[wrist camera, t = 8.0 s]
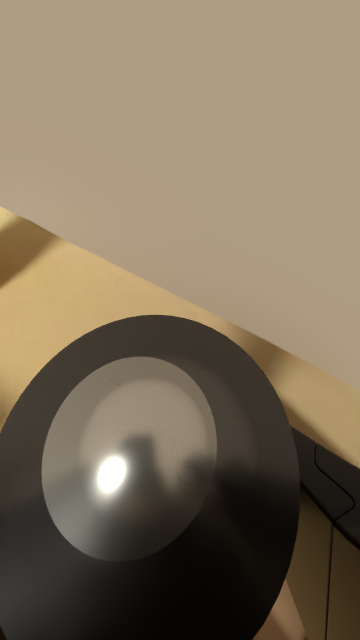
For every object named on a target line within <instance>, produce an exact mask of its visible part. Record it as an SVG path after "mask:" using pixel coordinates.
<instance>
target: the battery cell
mask: <svg viewBox="0 0 360 640" xmlns="http://www.w3.org/2000/svg"><path fill="white" fill-rule="evenodd" d="M299 512H300V474H299V466H298V458H297V451H296V447H295V443H294V439H293V435H292V431H291V427H290V424H289V421H288V419H287V416H286V413H285V411H284V408H283V406H282V404H281V402H280V400H279V398H278V396H277V394H276V392H275V390H274V388H273V386H272V385H271V383H270V382H269V380H268V379H267V377H266V376H265V374H264V373H263V371H262V370H261V369H260V368H259V366H258V365H257V364H256V363H255V362H254V360H253V359H252V358H251V357H250V356H249V355H248V354H247V353H246V352H245V351H244V350H243V349H242V348H241V347H239V346H238V345H237V344H236V343H234V342H233V341H232V340H230V339H229V338H228V337H226V336H225V335H223V334H221V333H220V332H218V331H216V330H214V329H213V328H210V327H208V326H206V325H203V324H201V323H199V322H196V321H192V320H189V319H186V318H180V317H175V316H167V315H143V316H136V317H130V318H125V319H121V320H118V321H114V322H111V323H109V324H106V325H103V326H101V327H99V328H97V329H95V330H93V331H90V332H88V333H86V334H85V335H83V336H82V337H80V338H78V339H77V340H75V341H74V342H72V343H71V344H69V345H68V346H67V347H65V348H64V349H63V350H62V351H60V352H59V353H58V354H57V355H56V356H55V357H54V358H52V359H51V360H50V361H49V362H48V363H47V364H46V365H45V366H44V367H43V368H42V369H41V370H40V372H39V373H38V374H37V375H36V376H35V377H34V378H33V380H32V381H31V382H30V384H29V385H28V386H27V388H26V389H25V390H24V392H23V393H22V394H21V396H20V397H19V399H18V401H17V402H16V404H15V406H14V407H13V409H12V410H11V412H10V414H9V416H8V418H7V420H6V422H5V424H4V426H3V428H2V430H1V432H0V626H1V628H2V630H3V632H4V634H5V636H6V638H7V640H253V638H254V637H255V636H256V634H257V633H258V631H259V630H260V629H261V627H262V626H263V625H264V623H265V621H266V619H267V617H268V615H269V613H270V611H271V610H272V608H273V606H274V604H275V602H276V600H277V598H278V596H279V594H280V592H281V589H282V586H283V583H284V581H285V578H286V575H287V572H288V570H289V567H290V564H291V560H292V555H293V551H294V546H295V542H296V537H297V532H298V522H299Z"/></svg>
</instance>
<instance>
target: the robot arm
mask: <svg viewBox="0 0 360 640" xmlns="http://www.w3.org/2000/svg"><path fill="white" fill-rule="evenodd" d="M290 427H291V426H290ZM291 431H292V435H293V439H294V443H295V447H296V451H297V458H298V466H299V474H300V512H299V522H298V532H297V537H296V542H295V546H294V551H293V555H292V560H291V564H290V567H289V570H288V572H287V575H286V578H285V579H286V581H287V584H288V587H289V589H290V592H291V595H292V597H293V600H294V603H295V606H296V608H297V611H298V614H299V616H300V619H301V622H302V624H303V627H304V630H305V632H306V635H307V638H308V640H360V469H359V468H357V467H356V466H354V465H352V464H350V463H349V462H347V461H345V460H344V459H342V458H341V457H339V456H337V455H336V454H334V453H332V452H331V451H329V450H328V449H326V448H324V447H323V446H321V445H320V444H318V443H317V444H316V442H315V441H313V440H312V439H310V438H309V437H307V436H305V435H304V434H302V433H301V432H299V431H298V430H296V429H295V428H293V427H291ZM0 640H7V638H6V636H5V634H4V632H3V630H2V628H1V626H0Z"/></svg>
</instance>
